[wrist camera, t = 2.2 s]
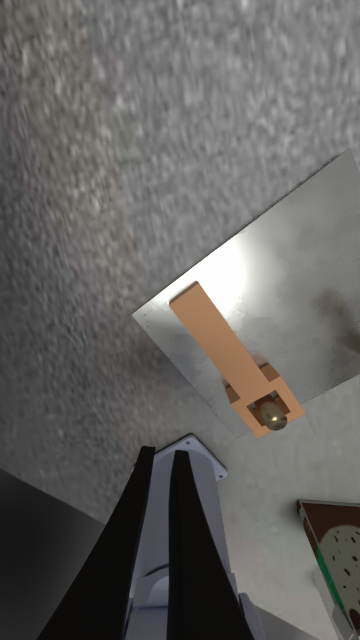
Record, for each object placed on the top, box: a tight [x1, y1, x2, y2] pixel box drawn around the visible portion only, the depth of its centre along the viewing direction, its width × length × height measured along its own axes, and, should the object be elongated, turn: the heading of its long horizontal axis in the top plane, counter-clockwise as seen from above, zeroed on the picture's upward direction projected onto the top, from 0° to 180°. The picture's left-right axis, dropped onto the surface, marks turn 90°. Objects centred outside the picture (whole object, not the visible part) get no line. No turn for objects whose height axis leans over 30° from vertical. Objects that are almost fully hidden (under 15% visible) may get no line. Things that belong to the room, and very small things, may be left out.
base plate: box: [132, 148, 360, 438], centre depth 15 cm, size 20×18×4 cm
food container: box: [297, 499, 360, 640], centre depth 21 cm, size 12×6×10 cm, turn 84°
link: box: [169, 281, 306, 438], centre depth 16 cm, size 16×5×2 cm, turn 37°
